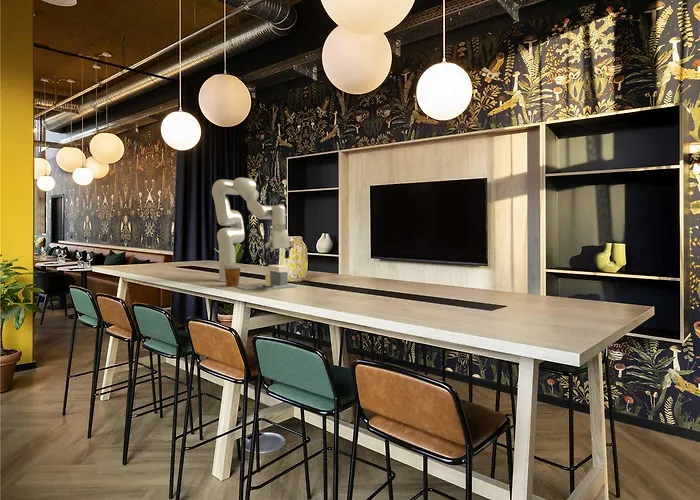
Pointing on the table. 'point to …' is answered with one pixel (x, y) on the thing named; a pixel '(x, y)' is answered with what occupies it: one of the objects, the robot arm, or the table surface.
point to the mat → (247, 287)
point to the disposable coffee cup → (232, 274)
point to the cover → (278, 268)
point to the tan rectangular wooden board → (267, 278)
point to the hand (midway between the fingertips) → (279, 258)
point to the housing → (276, 281)
